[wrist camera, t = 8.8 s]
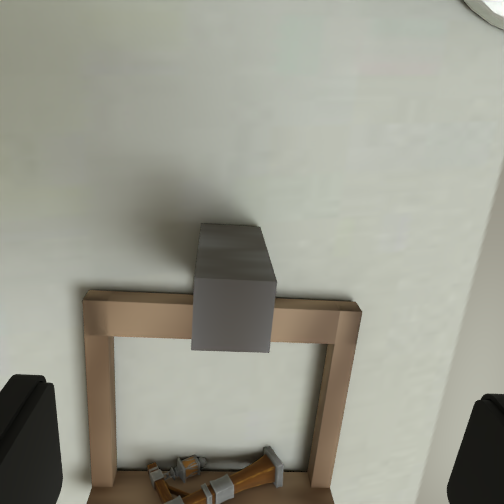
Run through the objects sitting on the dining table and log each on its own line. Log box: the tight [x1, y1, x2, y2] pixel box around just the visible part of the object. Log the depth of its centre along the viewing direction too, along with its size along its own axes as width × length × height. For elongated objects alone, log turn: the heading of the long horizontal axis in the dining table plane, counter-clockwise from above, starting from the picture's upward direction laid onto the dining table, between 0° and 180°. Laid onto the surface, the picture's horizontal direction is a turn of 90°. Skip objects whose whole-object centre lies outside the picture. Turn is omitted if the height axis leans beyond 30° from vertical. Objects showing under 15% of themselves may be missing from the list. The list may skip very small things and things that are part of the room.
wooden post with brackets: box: [147, 446, 284, 504], centre depth 27 cm, size 2×8×4 cm, turn 89°
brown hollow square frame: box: [82, 223, 362, 504], centre depth 22 cm, size 14×18×7 cm
